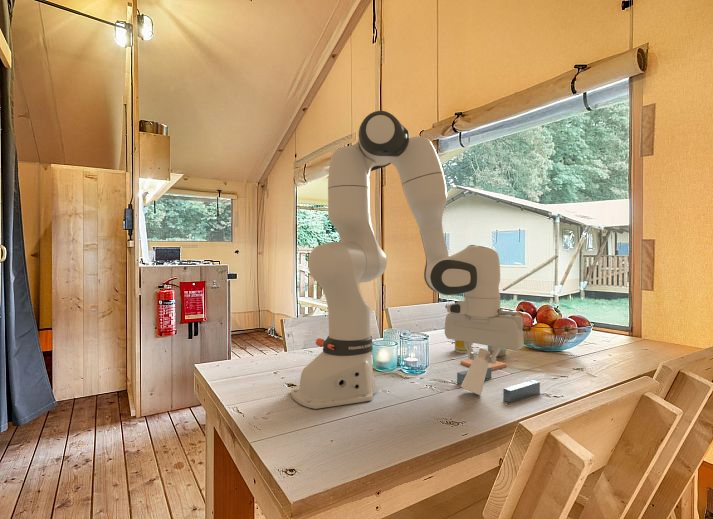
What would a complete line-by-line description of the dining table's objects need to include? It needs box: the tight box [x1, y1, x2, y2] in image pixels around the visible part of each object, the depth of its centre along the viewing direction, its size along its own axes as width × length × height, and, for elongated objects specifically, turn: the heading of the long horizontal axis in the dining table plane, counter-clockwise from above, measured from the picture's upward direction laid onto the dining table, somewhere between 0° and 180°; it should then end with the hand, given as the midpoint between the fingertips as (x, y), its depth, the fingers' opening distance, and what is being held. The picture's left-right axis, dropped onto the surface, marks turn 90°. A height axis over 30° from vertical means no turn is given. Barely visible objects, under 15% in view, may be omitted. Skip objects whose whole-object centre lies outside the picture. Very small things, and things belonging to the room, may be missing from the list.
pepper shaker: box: [460, 347, 491, 396], centre depth 99 cm, size 5×5×11 cm
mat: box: [459, 358, 507, 372], centre depth 124 cm, size 10×10×1 cm
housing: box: [456, 367, 541, 404], centre depth 103 cm, size 12×17×3 cm
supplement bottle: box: [454, 340, 468, 354], centre depth 142 cm, size 5×5×10 cm
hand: (482, 361), depth 100 cm, fingers closed on pepper shaker, 4 cm apart
